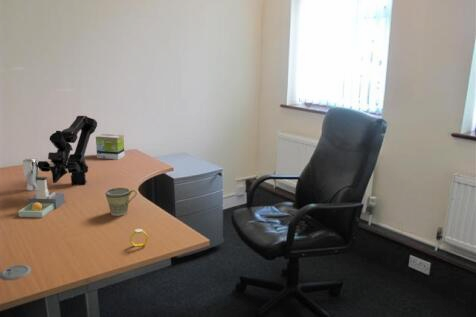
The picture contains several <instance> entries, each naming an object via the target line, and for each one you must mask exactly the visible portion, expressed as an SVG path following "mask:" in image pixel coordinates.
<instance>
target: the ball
mask: <svg viewBox="0 0 476 317" xmlns="http://www.w3.org/2000/svg"><path fill="white" fill-rule="evenodd" d="M41 209H42V205H41V203H38V202H36V203H34V204H33V205H32V210H33V211H40V210H41Z"/></svg>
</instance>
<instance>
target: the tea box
mask: <svg viewBox="0 0 476 317" xmlns="http://www.w3.org/2000/svg"><path fill="white" fill-rule="evenodd" d="M124 137H125V136H124V134H113V133H112V134H108V133H102V134H100V135H97V136H95V145H96V158H97V159H106V160H107V159H109V160H116V161H117V160H120V159H122V158H123V157H125V141H124V140H125V139H124Z"/></svg>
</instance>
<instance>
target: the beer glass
mask: <svg viewBox="0 0 476 317" xmlns="http://www.w3.org/2000/svg"><path fill="white" fill-rule="evenodd" d="M38 162H39V160H38V158H28V159H24V160H23V159H22V169H23V174H24V177H25V180H26V191H28V192H34V191H35V192H36V191H37V181H36V177H40V175H39V174H40V169H39V168H38V167H37V164H38Z"/></svg>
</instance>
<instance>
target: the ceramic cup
mask: <svg viewBox="0 0 476 317" xmlns="http://www.w3.org/2000/svg"><path fill="white" fill-rule="evenodd" d="M134 192H135V195H134V196H132V197H131V198H130V195H131V194H132V193H134ZM137 194H138V193H137V191H136V190H135V189H132V190H131V189H130V188H128V187H113V188H112V187H111V188H108V189H107V190H105V197H106V201H107V204H108V208H109V211H110V214H111V216H115V217H120V216H124V215H126V214H128V209H129V204H130V202H131V201H132V200H133V199H134V198H135V197H136V196H137Z"/></svg>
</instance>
